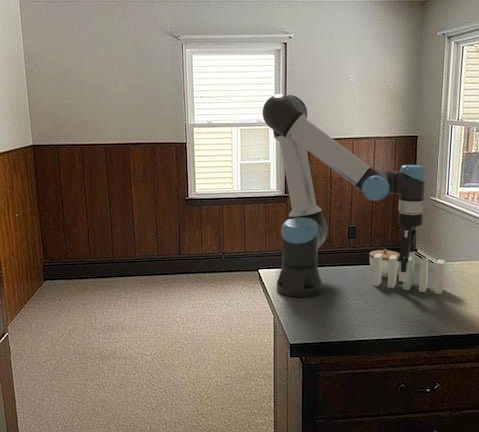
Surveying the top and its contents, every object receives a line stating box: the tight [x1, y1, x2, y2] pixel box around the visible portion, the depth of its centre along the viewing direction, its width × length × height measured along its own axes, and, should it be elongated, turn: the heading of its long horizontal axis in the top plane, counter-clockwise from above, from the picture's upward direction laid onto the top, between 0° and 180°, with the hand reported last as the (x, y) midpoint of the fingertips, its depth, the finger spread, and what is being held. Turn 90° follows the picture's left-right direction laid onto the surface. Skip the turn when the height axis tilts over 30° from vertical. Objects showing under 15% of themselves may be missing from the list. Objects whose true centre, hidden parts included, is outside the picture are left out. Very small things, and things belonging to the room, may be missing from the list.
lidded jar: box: [369, 248, 400, 278], centre depth 189 cm, size 11×11×9 cm
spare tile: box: [402, 257, 413, 291], centre depth 174 cm, size 2×5×10 cm, turn 154°
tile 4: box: [418, 257, 430, 293], centre depth 172 cm, size 2×5×10 cm, turn 154°
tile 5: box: [434, 259, 446, 295], centre depth 170 cm, size 2×5×10 cm, turn 154°
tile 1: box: [372, 254, 383, 287], centre depth 179 cm, size 2×5×10 cm, turn 154°
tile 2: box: [387, 255, 398, 289], centre depth 177 cm, size 2×5×10 cm, turn 154°
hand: (406, 275), depth 175 cm, fingers open, 13 cm apart
